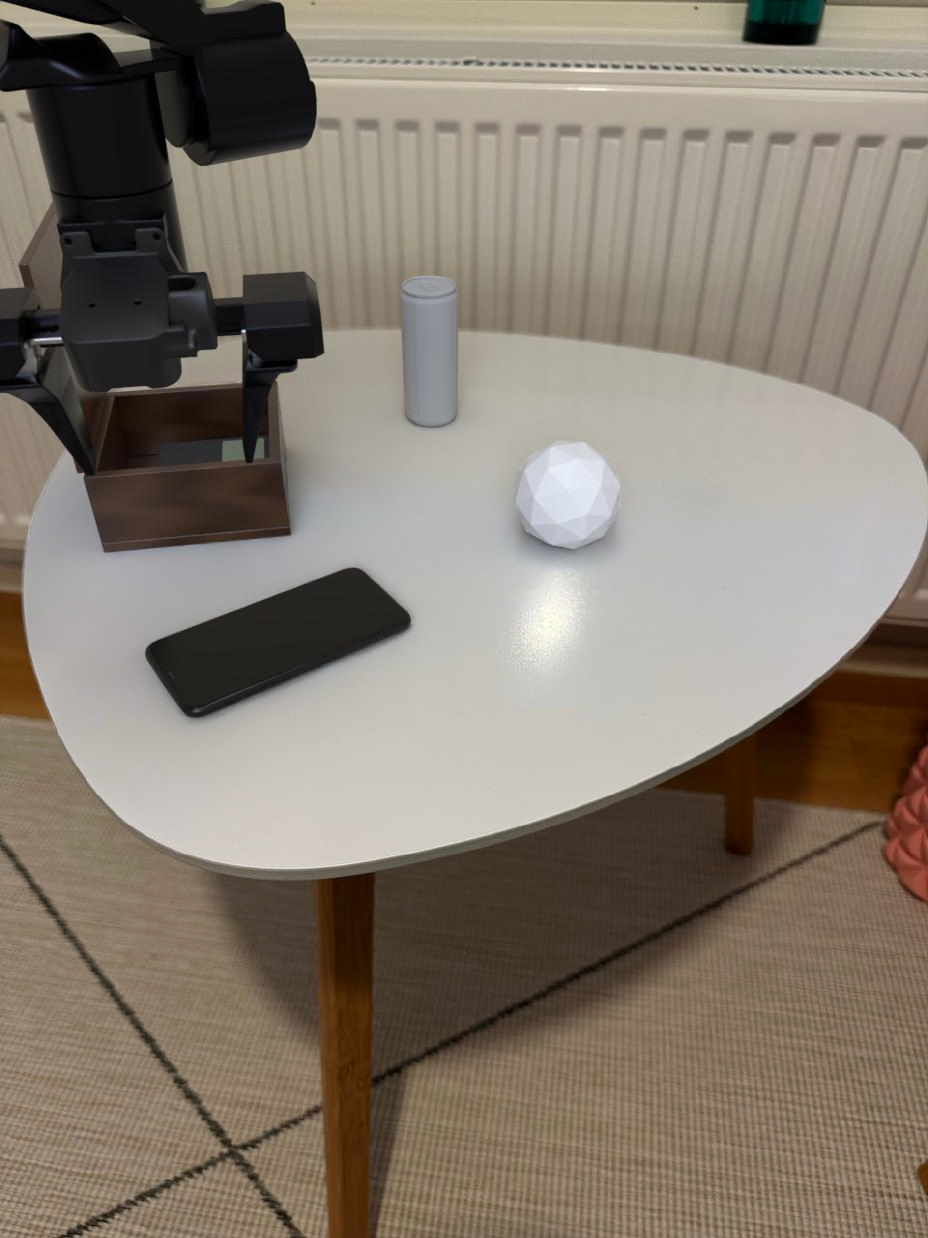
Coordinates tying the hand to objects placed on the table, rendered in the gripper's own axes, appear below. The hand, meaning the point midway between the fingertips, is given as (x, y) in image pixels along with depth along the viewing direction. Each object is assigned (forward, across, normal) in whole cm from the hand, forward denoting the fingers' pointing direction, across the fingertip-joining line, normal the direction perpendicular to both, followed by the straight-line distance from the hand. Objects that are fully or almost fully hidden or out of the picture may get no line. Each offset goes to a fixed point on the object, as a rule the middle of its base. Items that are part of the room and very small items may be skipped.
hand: (171, 466), depth 57 cm
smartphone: (+12, +5, -2) cm, 14 cm away
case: (+12, -1, +17) cm, 21 cm away
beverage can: (+13, +19, +28) cm, 36 cm away
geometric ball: (+13, +26, +7) cm, 30 cm away
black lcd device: (+12, +1, +17) cm, 20 cm away
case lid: (-1, -7, +17) cm, 19 cm away
